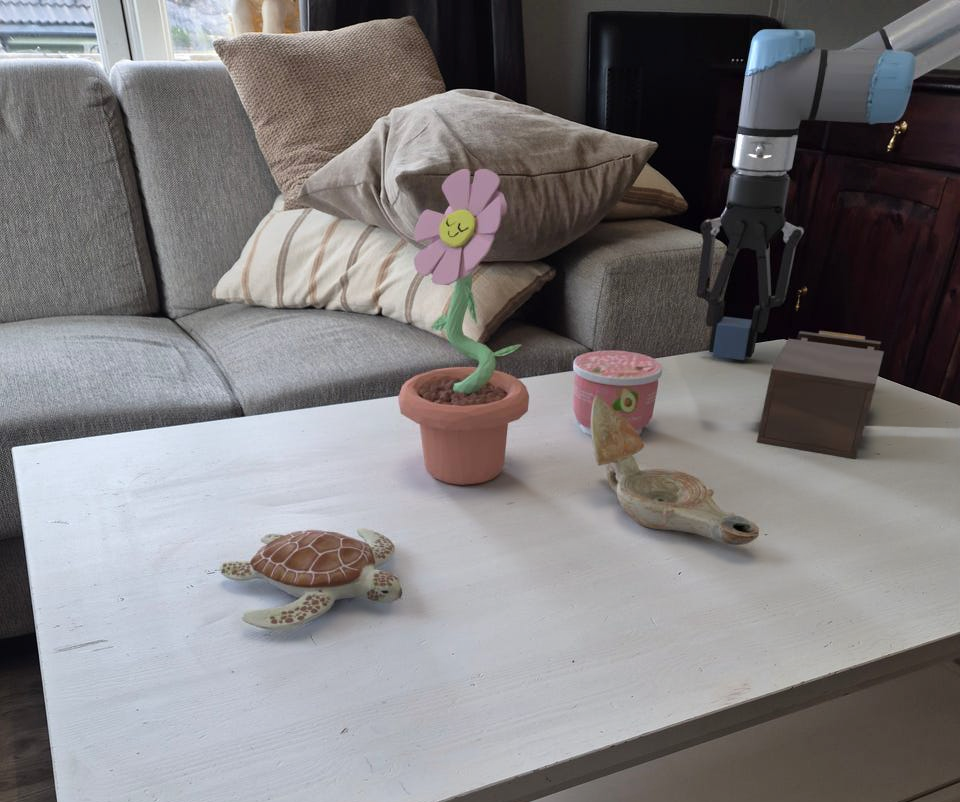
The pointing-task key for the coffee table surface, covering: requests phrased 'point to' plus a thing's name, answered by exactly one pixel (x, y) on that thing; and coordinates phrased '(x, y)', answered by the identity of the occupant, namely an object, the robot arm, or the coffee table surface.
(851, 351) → the cabinet
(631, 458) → the oil lamp
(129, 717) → the coffee table surface
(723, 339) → the block
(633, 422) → the container
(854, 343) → the drawer
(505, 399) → the decorative flower
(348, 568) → the decorative turtle
